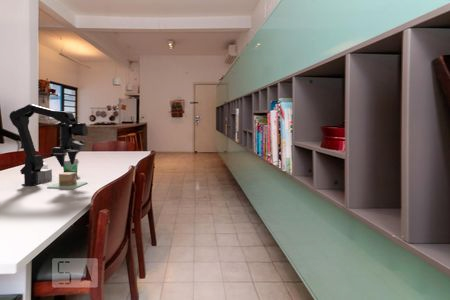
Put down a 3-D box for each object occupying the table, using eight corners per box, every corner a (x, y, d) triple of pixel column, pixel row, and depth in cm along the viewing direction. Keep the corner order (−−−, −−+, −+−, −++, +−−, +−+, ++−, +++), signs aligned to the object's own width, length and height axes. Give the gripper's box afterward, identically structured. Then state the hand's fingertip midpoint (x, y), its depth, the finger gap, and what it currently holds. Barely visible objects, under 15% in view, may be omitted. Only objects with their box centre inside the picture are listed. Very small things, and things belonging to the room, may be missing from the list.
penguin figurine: (47, 160, 196) (51, 164, 187) (47, 174, 197) (51, 178, 188) (35, 161, 192) (39, 165, 182) (36, 175, 193) (39, 179, 184)
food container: (73, 178, 187) (72, 161, 186) (62, 177, 187) (62, 161, 186) (82, 174, 199) (82, 158, 198) (73, 174, 199) (72, 158, 199)
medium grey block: (45, 181, 176) (45, 171, 175) (35, 181, 176) (34, 170, 175) (52, 179, 182) (51, 169, 181) (42, 179, 182) (41, 169, 181)
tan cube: (70, 185, 163) (70, 174, 162) (59, 185, 163) (58, 174, 162) (76, 183, 169) (76, 172, 168) (65, 183, 169) (65, 172, 168)
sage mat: (73, 188, 159) (73, 187, 158) (47, 188, 159) (47, 186, 159) (87, 183, 172) (87, 182, 172) (62, 182, 173) (62, 181, 173)
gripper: (72, 137, 154) (73, 168, 155) (90, 135, 172) (91, 163, 174) (50, 136, 154) (51, 168, 156) (70, 134, 173) (71, 162, 174)
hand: (67, 165), depth 165 cm, fingers open, 9 cm apart
